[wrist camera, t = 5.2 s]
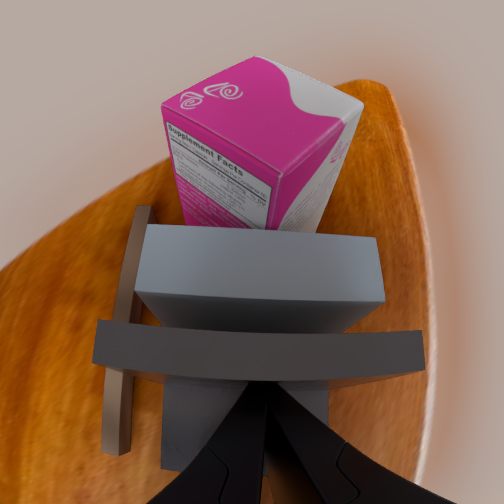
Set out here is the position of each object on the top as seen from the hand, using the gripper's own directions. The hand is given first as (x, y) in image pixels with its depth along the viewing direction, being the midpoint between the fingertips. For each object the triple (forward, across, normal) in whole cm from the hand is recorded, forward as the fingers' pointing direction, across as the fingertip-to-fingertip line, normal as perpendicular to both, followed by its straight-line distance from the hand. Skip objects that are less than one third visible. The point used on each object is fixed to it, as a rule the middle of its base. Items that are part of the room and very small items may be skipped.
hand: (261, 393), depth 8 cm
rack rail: (+8, -7, -4) cm, 11 cm away
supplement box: (+13, 0, 0) cm, 13 cm away
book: (+9, 0, -3) cm, 9 cm away
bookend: (+5, 0, -7) cm, 8 cm away
